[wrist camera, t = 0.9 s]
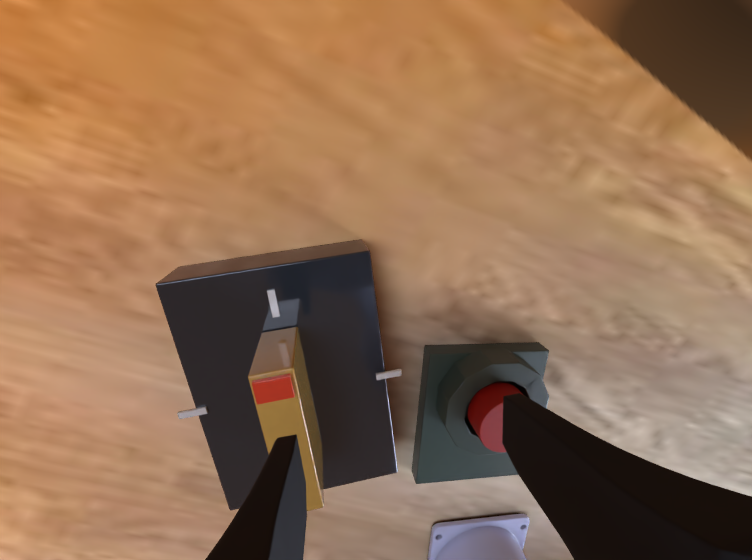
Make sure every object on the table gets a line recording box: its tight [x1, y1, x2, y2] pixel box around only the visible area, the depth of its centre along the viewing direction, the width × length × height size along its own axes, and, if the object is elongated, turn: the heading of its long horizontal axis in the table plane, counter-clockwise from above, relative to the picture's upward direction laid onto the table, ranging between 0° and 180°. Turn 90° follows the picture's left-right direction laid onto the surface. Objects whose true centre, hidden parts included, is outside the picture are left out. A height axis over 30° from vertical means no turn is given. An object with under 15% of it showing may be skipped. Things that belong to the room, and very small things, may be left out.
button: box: [468, 382, 523, 452], centre depth 22 cm, size 4×4×2 cm
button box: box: [412, 342, 549, 484], centre depth 24 cm, size 10×8×3 cm
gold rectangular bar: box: [248, 327, 324, 511], centre depth 17 cm, size 8×2×4 cm, turn 7°
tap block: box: [156, 239, 402, 510], centre depth 21 cm, size 14×12×3 cm
